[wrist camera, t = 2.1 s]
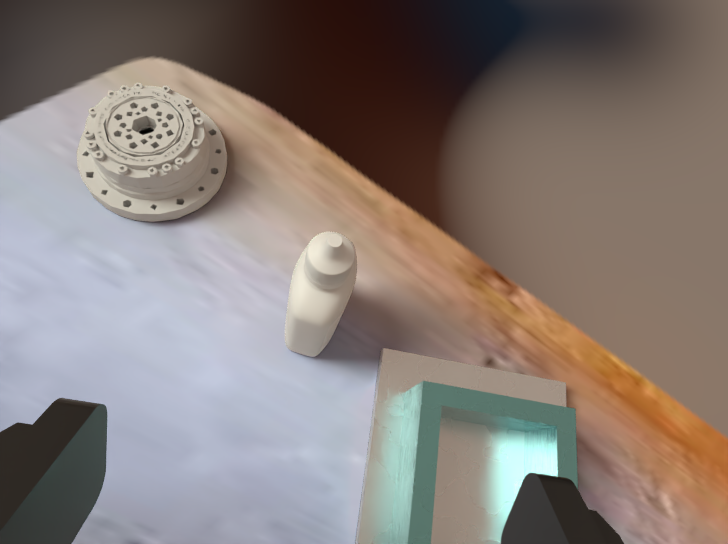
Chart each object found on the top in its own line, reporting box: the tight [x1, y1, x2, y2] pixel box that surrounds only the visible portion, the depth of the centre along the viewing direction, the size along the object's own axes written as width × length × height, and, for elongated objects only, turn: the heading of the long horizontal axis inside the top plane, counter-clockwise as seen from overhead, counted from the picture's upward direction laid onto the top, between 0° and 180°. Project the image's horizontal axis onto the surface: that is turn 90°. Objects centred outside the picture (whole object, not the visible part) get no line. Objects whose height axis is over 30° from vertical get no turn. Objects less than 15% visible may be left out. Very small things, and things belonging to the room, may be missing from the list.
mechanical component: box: [77, 83, 227, 222], centre depth 35 cm, size 10×4×10 cm
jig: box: [355, 348, 578, 544], centre depth 29 cm, size 16×13×5 cm
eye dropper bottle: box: [285, 231, 357, 357], centre depth 29 cm, size 4×6×12 cm
